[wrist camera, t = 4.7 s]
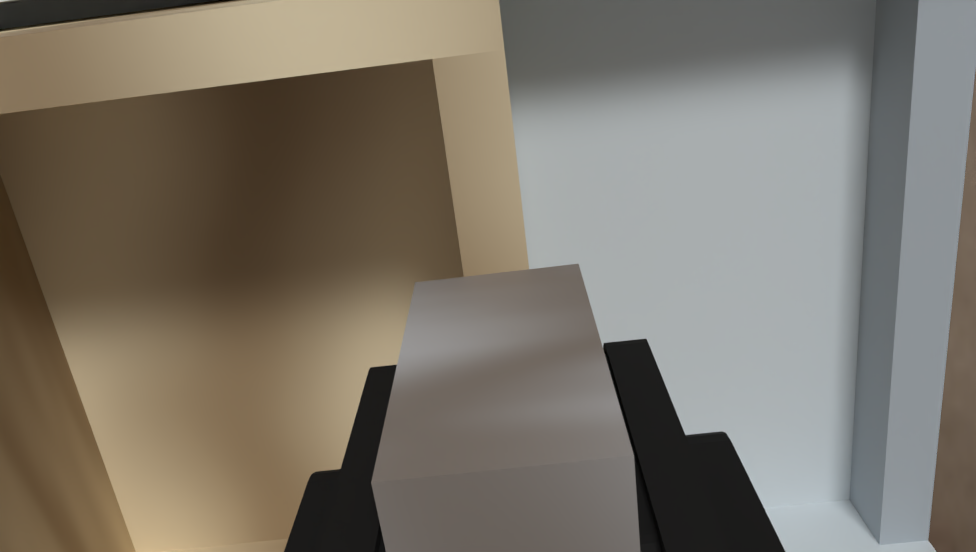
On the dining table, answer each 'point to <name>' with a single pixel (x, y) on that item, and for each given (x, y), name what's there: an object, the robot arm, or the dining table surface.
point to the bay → (753, 223)
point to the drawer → (286, 287)
